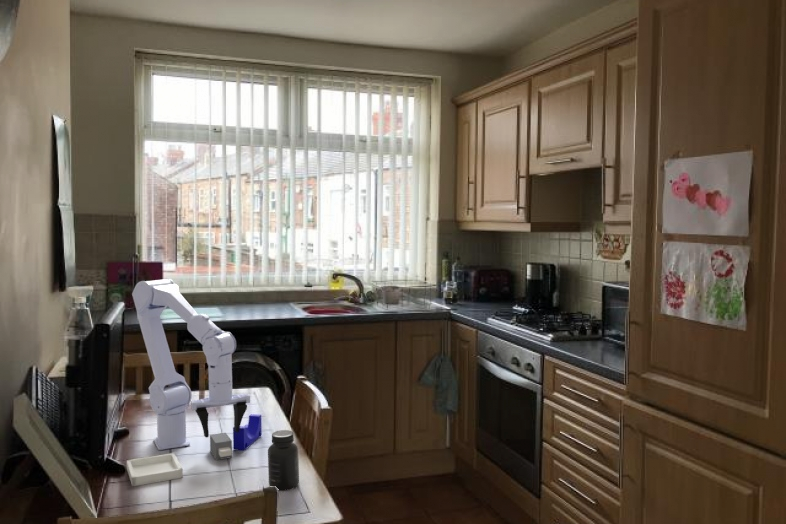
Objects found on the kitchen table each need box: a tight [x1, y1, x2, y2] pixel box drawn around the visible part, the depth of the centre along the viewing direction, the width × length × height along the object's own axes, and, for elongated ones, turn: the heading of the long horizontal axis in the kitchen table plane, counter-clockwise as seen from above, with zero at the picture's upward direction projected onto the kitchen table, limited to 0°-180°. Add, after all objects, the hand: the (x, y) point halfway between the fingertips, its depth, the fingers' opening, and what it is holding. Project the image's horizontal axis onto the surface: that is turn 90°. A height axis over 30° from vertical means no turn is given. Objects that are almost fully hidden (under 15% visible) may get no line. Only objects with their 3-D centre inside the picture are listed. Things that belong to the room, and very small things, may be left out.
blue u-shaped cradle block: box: [232, 413, 263, 451], centre depth 178 cm, size 12×4×6 cm, turn 170°
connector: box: [209, 432, 233, 460], centre depth 168 cm, size 9×4×4 cm, turn 27°
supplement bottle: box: [267, 429, 300, 492], centre depth 149 cm, size 7×7×12 cm
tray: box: [126, 452, 184, 487], centre depth 156 cm, size 12×11×2 cm
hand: (221, 433), depth 168 cm, fingers open, 7 cm apart
